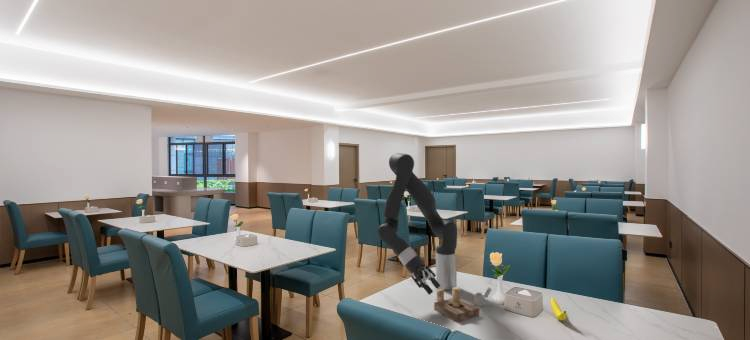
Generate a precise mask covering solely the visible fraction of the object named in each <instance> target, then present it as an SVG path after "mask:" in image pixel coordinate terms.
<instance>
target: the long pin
mask: <svg viewBox="0 0 750 340" xmlns="http://www.w3.org/2000/svg"><path fill="white" fill-rule="evenodd" d="M451 292H452V293H451V294H452V295H451V296H452V297H451V298H452V307H453V308H455V309H457V308H460V299H461V288H460V287H454V288H452V290H451Z"/></svg>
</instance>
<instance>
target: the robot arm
mask: <svg viewBox="0 0 750 340" xmlns="http://www.w3.org/2000/svg"><path fill="white" fill-rule="evenodd" d="M388 166H389V168H390V170H391V171H392V172H393V174H394V175H395V180H394V182H393V183H394V184H393V186H392V188H391V190H390V192H389V193H388V196H387V198H386V200H385V205H384V209H383V217H384V223H383V224H380V225H379V226H378V227H377V235H378V238H379V239H380V240H381V241H382V242H383V243H384V244H385V245H387V246H388V247H389V248H390V249H391V250H392V252H394V254H395V255H396V256H397V257H398V259H399V261H400V262H401V264H402V265H403V266H404V267H405V269H406V270H407V271H408V272H409V273H410V274H411V276H410V278H411V279H412V281H414V283H415V284H416V285H417V287H418V288H419V289H420V288H423V289H424V291H426V293H427V295H431V294H432V293H433V292H434V291H433V289H432V288H431V286H430V285H429V284H427V281H430V282H431V284H432V285H433V287H434V288H435V289H443V290H444V291H450V290H451V291H452V288H454V287H457V285H458V284H457V281H458V280H457V276H458V275H457V267H456V249H457V244H458V227H457V223H455V222H454V221H452V220H447V219H443V217H442V216H440V213H438V210H437V207H436V206H437V203H436V199H435V196H434V194H433V193H432V192H431V189H430V188H429V187H428V186H427V185H426V183H424V182H423V180H421V179H420V178H419V177H418V175H416V174H415V173H414V171H413V170H414V167H415V160H414V158H413V156H412V155H411V154H407V153H403V152H402V153H401V152H397V153H395V152H394V153H393V154H391V155H390V157H389V159H388ZM406 191H407V193H408V194H409V196H410V197H411V199H412V201H413V202H414V203H415V206H417V208H418V209H419V210H420V212H421V214H422V215H423V217H424V218H425V220H426V221H427V223H428V225H429V227H430V229H431V232H432V233H433V234H434V235H435V237H437V238H440V239H441V240H442V241H441V244H439V245H437V246H436V247H435V272H433V270H432V269H431V268H430V267H429V265H425V266H423V265H424V261H423V259H421V257H420V256H419V255H418V254H417V253H416V251H415V250H414V249H413V248H412V247H411V246H410V245H409V244H408V243H407V241H406V240H405V239H404V238H403V237H400V236H398V234H397V233H398V229H399V215H400V212H401V207H402V204H403V203H402V202H403V198H404V194H405V192H406ZM457 288H458V287H457Z"/></svg>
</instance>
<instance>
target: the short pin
mask: <svg viewBox="0 0 750 340" xmlns="http://www.w3.org/2000/svg"><path fill="white" fill-rule="evenodd" d="M443 300H445V290H443V289H438V288H436V302H438V301H443Z"/></svg>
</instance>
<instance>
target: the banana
mask: <svg viewBox="0 0 750 340" xmlns="http://www.w3.org/2000/svg"><path fill="white" fill-rule="evenodd" d="M550 301H551V303H550V304H551V308H552V311H553V313H554V315H555V317H556V319H557V320H559V321H565V320H566V319H567V317H568V314H567V311H566V310H563V311H562V309H561V308H560V305H559V304H558V302H557V300H556V299H555V298H554V296H552V297H551V300H550Z"/></svg>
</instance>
